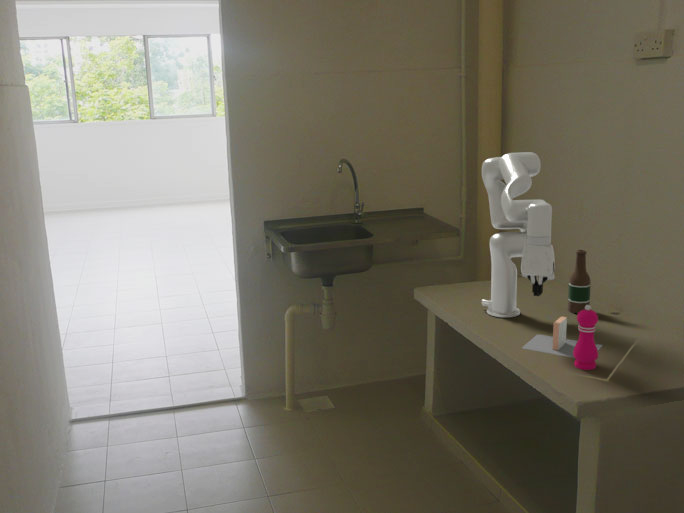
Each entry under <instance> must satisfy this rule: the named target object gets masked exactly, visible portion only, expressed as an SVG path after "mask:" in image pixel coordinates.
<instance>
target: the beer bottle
mask: <svg viewBox="0 0 684 513" xmlns="http://www.w3.org/2000/svg"><path fill="white" fill-rule="evenodd" d="M575 253H576V257H575V258H576V259H575V266H574V271H573V272H572V273H571V274H570V276H569V281H568V298H567V299H568V300H567V306H568V307H567V311H568V312H569V313H571V314H575V313H576V315H578V313H579V312H580V311H581V310H584V309H585V306H586V305H590V302H591V299H590V298H591V277H590V275H589V274H588V272H587V265H586V264H587V263H586V261H587V258H586V255H587V253H588V252H587V250H584V249H578V250H576V252H575Z"/></svg>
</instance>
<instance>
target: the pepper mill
mask: <svg viewBox="0 0 684 513" xmlns="http://www.w3.org/2000/svg"><path fill="white" fill-rule="evenodd" d="M576 315H577V316H576V321H577V323H578V328H577V330H578V331H579V335H578V340H577V341H578V342H577V344H576V345H575V347H574V350H573V356H574V358H573V359H575V360H574V363H573V366H574V367H575V368H577V369H580V370H584V371H587V370H588V371H589V370H594V369H596V367H597V362H596V360H597V359H598V357H599V350H597V347H596V345H595V344H596V342H595V336H594V334H595V331H596V330H597V329H596V328H597V327H596V324H597V323H598V322H599V318H598V317H599V316H598V313H597V312H596V311H594V310H593V309H592V306H591V305H590V304H589V305H586V306H585V309H584V310H581V311H580V312H579V313H578V314H576Z"/></svg>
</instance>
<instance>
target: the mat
mask: <svg viewBox="0 0 684 513" xmlns="http://www.w3.org/2000/svg"><path fill="white" fill-rule="evenodd" d="M577 342H578V340H575V339H569V338H566V343H565V344H564V345H563V346H562V347H561V348H560V349H559V350H553V336H551V335H545V334H539V333H538V334H536V335H535V336H534V337H532V339H530V340H529V341H528V342H526V344H524V345H523V346H522V347H521V349H524V350H529V351H534V352H540V353H545V354H550V355H556V356H561V357H562V356H563V357H566V358H573V359H575V358H574V356H573V350H574V347H575V345H576V344H577ZM595 345H596V347H597V350H598V351H600V350H601V348H602V347H603V346H604V345H603V344H598V343H595Z"/></svg>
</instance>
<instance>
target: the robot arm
mask: <svg viewBox="0 0 684 513" xmlns="http://www.w3.org/2000/svg"><path fill="white" fill-rule="evenodd" d="M541 167H542V166H541V160H540V158H539V156H538V154H537V153H534V152H531V151H530V152H529V151H525V152H524V151H523V152H509V153H505V154H503V155H502V156H496V157H489V158H487V159H486V160H484V161H483V162H482V165H481V178H482V181H483V184H484V187H485V189H486V190H485V191H486V192H487V196H488V204H489V214H490V215H489V216H490V222H491V226H492V227H493V228H494V229H496V230H516V229H517V230H519V231H504V232H503V231H502V232H498V233H494V234H492V236H491V237H490V238H489V244H488V245H489V251H490V261H491V280H490V281H491V282H490V284H491V286H490V299H489V300H487V299H481V306H483V307H488V308H486V314H487V315H489V316H492V317H495V318H506V319H508V318H515V317H517V316H519V315H520V314H521V310H520V309H519V308H518V307H517V290H518V288H517V285H518V269H517V266H516V264H515V263H514V262H513V261H512V258H521V262H520V272H521V276H522V277H523V278H526V279H528V280H529V281H530V283H531V285H532V289H531V290H532V291H531V292H532V293H533V296H534V297H540V296H541V295H542V294H543V292H544V283H545V282H546V281H551V280H552V281H553V280H554V279H555V277H556V276H555V270H556V262H555V261H556V259H555V251H554V246H553V244H552V219H553V218H552V217H553V216H552V215H553V208H552V204H550V203H548V202H547V201H545V199H540V198H539V199H515V198H517V197H519V196H521V195H523V194H525V193H526V192H529V190H530V189H531V187H532V184H533V180H532V177H535V176H537V175H538V174H539V173H540V171H541ZM502 180H504V182H503V181H502ZM514 199H515V200H514Z"/></svg>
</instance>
